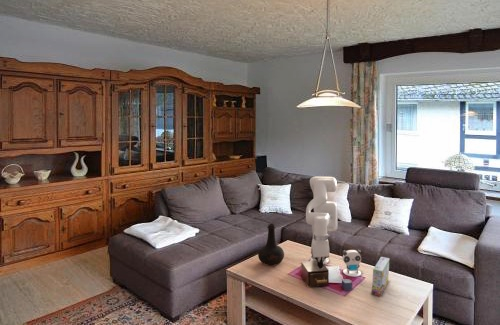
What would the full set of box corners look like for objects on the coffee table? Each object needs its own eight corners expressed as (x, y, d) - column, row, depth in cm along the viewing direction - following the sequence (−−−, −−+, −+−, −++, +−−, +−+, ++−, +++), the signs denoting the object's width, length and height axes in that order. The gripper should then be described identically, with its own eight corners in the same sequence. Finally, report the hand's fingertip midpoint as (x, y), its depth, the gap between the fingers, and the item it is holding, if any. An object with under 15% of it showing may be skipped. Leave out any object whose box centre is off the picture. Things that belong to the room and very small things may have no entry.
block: (348, 285, 209) (348, 278, 208) (351, 289, 204) (352, 282, 204) (341, 286, 208) (341, 279, 207) (344, 290, 204) (344, 283, 203)
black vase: (253, 263, 242) (252, 225, 238) (269, 255, 255) (268, 218, 251) (273, 271, 230) (272, 230, 226) (289, 262, 243) (288, 223, 239)
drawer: (331, 289, 204) (331, 276, 202) (312, 290, 202) (312, 278, 201) (320, 274, 222) (320, 263, 220) (303, 276, 220) (303, 264, 219)
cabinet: (328, 285, 210) (328, 270, 209) (308, 287, 208) (308, 271, 207) (320, 274, 224) (320, 260, 223) (301, 275, 223) (301, 261, 221)
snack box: (381, 296, 196) (382, 271, 194) (371, 294, 199) (372, 269, 197) (389, 281, 214) (389, 257, 211) (379, 278, 216) (380, 255, 214)
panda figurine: (344, 276, 220) (344, 254, 218) (340, 268, 231) (340, 247, 229) (363, 276, 220) (364, 253, 218) (358, 268, 231) (358, 247, 229)
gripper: (330, 234, 207) (330, 263, 209) (306, 236, 205) (306, 265, 207) (335, 238, 199) (334, 269, 202) (310, 240, 197) (309, 271, 200)
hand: (320, 267), depth 204 cm, fingers closed
